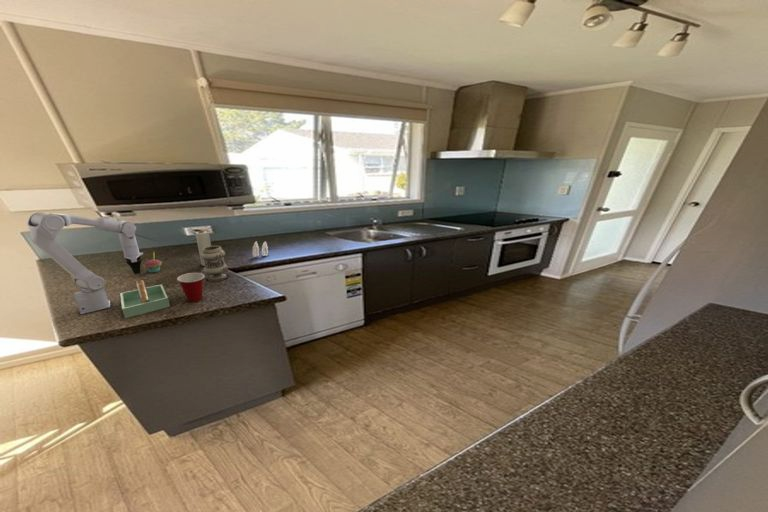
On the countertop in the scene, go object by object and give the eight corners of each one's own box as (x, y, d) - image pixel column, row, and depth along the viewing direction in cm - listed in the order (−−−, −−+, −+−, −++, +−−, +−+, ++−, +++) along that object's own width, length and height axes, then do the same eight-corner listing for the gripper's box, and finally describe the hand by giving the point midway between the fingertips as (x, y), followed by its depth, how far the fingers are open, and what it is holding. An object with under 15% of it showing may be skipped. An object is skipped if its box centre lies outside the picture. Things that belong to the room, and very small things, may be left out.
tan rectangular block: (142, 306, 128) (137, 290, 126) (139, 295, 139) (135, 280, 136) (150, 304, 130) (146, 288, 128) (147, 293, 141) (143, 278, 138)
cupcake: (162, 267, 175) (157, 248, 171) (164, 271, 169) (159, 252, 165) (144, 270, 169) (139, 251, 165) (146, 275, 163) (140, 255, 159)
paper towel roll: (200, 264, 181) (193, 231, 175) (210, 262, 186) (204, 230, 179) (204, 267, 177) (197, 233, 170) (214, 265, 181) (208, 232, 174)
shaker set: (254, 259, 192) (252, 243, 188) (250, 258, 194) (248, 242, 191) (270, 255, 201) (268, 239, 198) (266, 253, 203) (264, 238, 200)
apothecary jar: (206, 275, 165) (201, 245, 159) (230, 272, 170) (225, 243, 164) (203, 283, 154) (197, 251, 149) (228, 280, 159) (223, 249, 153)
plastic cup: (201, 304, 132) (196, 280, 129) (177, 304, 131) (171, 281, 128) (213, 294, 143) (208, 271, 139) (190, 294, 142) (185, 272, 138)
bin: (124, 318, 120) (122, 309, 118) (122, 301, 133) (120, 293, 132) (170, 306, 130) (168, 297, 128) (163, 292, 143) (161, 284, 142)
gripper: (142, 247, 134) (149, 274, 138) (139, 241, 144) (145, 266, 148) (122, 250, 129) (130, 278, 134) (120, 243, 139) (128, 269, 144)
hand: (137, 272), depth 141 cm, fingers open, 4 cm apart
